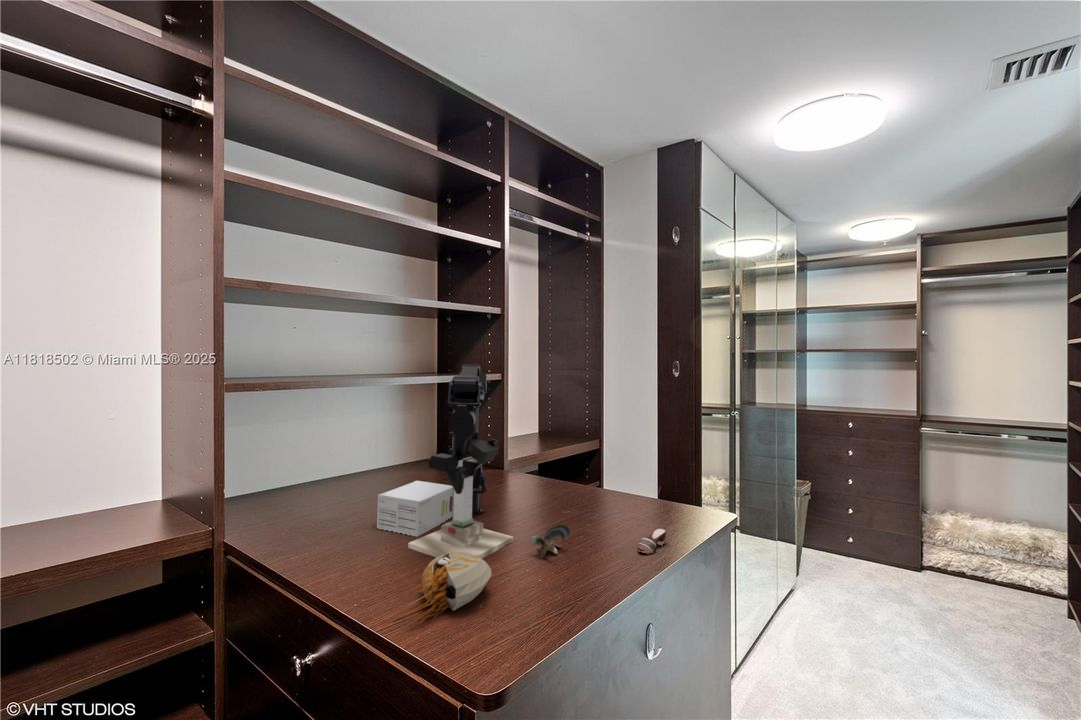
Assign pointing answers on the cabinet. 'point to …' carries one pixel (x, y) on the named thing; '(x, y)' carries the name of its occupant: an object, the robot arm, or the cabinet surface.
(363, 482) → the cabinet surface
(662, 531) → the heeled mule
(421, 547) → the birch stand
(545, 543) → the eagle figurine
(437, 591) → the nautilus
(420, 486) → the supplement box
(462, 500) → the steel post
